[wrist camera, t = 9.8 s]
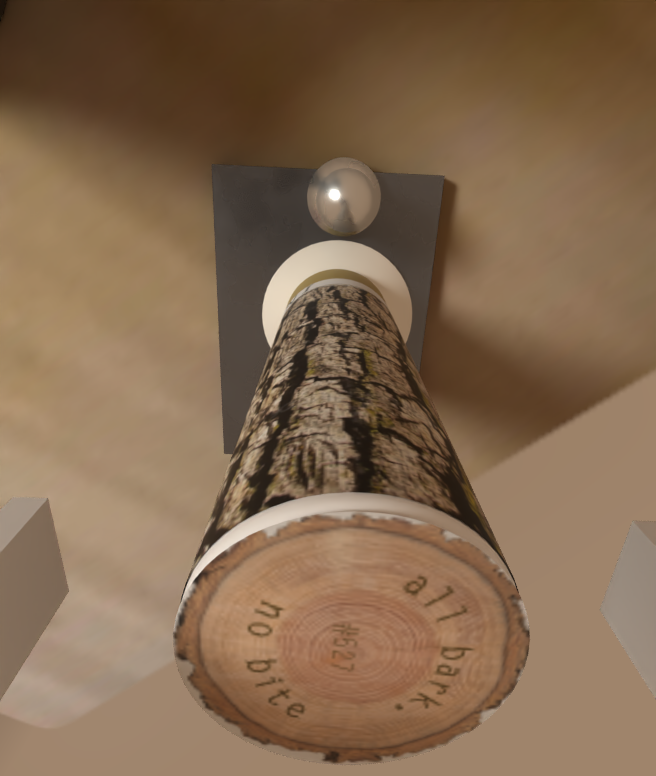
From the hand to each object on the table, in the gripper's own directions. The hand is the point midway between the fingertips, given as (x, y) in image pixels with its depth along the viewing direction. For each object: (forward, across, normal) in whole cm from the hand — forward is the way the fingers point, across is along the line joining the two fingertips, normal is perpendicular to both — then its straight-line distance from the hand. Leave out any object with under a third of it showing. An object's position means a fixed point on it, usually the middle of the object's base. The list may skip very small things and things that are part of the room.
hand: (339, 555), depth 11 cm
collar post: (+23, 0, +7) cm, 24 cm away
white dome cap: (+23, 0, -1) cm, 23 cm away
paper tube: (+23, 0, -1) cm, 23 cm away
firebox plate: (+24, -1, -2) cm, 24 cm away
